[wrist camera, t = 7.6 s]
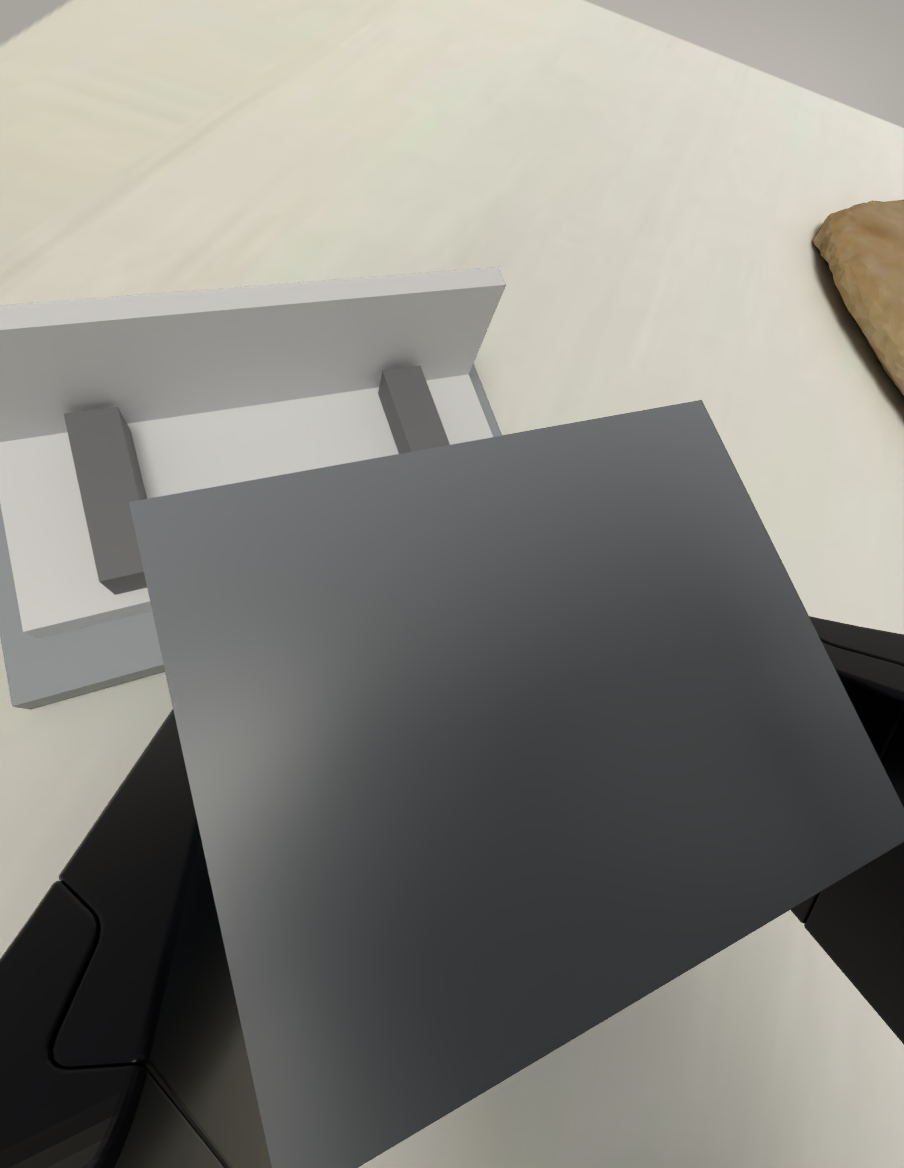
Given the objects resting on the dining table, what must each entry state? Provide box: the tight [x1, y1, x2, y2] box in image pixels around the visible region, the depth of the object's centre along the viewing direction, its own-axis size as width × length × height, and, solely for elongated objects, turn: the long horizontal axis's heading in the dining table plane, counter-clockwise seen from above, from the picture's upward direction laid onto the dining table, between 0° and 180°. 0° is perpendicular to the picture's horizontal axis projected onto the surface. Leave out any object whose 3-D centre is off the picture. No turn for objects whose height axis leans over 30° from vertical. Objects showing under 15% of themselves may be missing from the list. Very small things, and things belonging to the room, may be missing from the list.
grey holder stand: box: [0, 267, 506, 709], centre depth 20 cm, size 14×20×7 cm
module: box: [129, 400, 904, 1168], centre depth 10 cm, size 5×6×12 cm
